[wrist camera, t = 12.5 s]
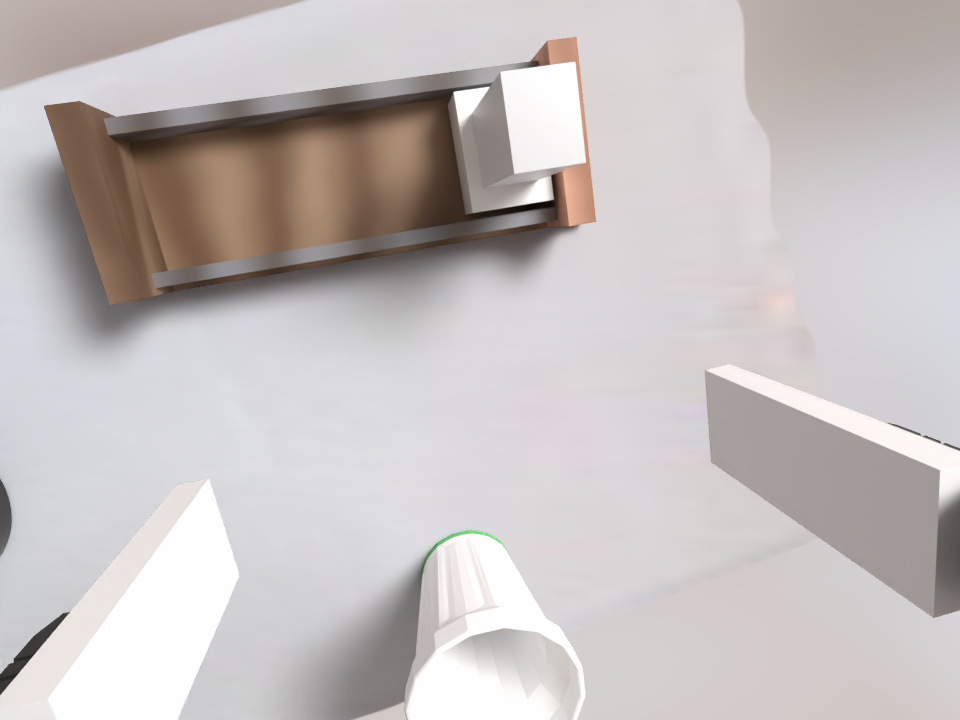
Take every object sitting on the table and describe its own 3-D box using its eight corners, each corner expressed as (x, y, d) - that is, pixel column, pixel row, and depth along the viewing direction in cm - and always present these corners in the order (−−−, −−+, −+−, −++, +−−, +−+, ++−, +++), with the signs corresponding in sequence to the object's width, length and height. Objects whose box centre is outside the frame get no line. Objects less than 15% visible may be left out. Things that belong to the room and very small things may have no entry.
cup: (427, 647, 53) (442, 806, 38) (380, 540, 50) (376, 669, 35) (547, 598, 54) (606, 735, 39) (508, 490, 51) (557, 595, 36)
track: (133, 297, 42) (84, 309, 35) (80, 130, 39) (16, 109, 32) (582, 220, 46) (615, 218, 39) (565, 65, 43) (598, 34, 37)
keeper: (465, 214, 43) (500, 205, 29) (447, 105, 41) (476, 41, 27) (539, 202, 44) (606, 188, 30) (525, 94, 42) (590, 27, 28)
